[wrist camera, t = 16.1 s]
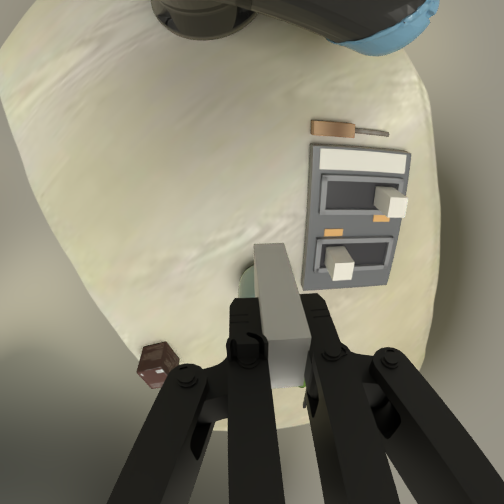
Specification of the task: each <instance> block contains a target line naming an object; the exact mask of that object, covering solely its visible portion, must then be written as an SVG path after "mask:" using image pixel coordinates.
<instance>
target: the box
mask: <svg viewBox="0 0 504 504" xmlns="http://www.w3.org/2000/svg"><path fill="white" fill-rule="evenodd" d="M178 365H179V358H178V356H177V355H176V354H175V353H174V351H173V350H172V349H171V347H170V346H169V344H168V343H167V342H163V343H159V344H155V345H150V346H146V347H143V350H142V354H141V357H140V361H139V365H138V368H137V374H138V375H139V376H140V377H141V378H142V379H143V380H144V381H145V382H146V383H147V384H148V385H149V387H151V389H154V388H160V387H162V385H163V383H164V381H165V379H166V377H167V375H168V374H169V372H170V371H171V370H172V369H173V368H175V367H176V366H178Z"/></svg>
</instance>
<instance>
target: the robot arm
mask: <svg viewBox="0 0 504 504" xmlns="http://www.w3.org/2000/svg"><path fill="white" fill-rule="evenodd" d="M151 4H152V8H153V11H154V14H155V15H156V17H157V19H158V20H159V21H160V22H161V23H162V24H163V25H164V26H165V27H166V28H167V29H168V30H170V31H171V32H173V33H174V34H176V35H179V36H181V37H184V38H188V39H193V40H213V39H219V38H223V37H226V36H229V35H231V34H234V33H236V32H238V31H239V30H241V29H243V28H244V27H245V26H247V25H248V24H249V23H250V22H251V21H252V20H253V19H254V18H255V16H256V15H257V13H261V14H264V15H268V16H271V17H274V18H277V19H280V20H283V21H285V22H288V23H291V24H294V25H296V26H299V27H301V28H304V29H306V30H309V31H311V32H314V33H316V34H319V35H321V36H323V37H325V38H326V40H328V41H329V42H331V43H333V44H338V45H341V46H345V47H347V48H350V49H352V50H354V51H356V52H358V53H361V54H363V55H369V56H383V55H387V54H390V53H393V52H396V51H398V50H400V49H401V48H403V47H405V46H406V45H408V44H409V43H411V42H412V41H413V40H414V39H415V38H417V37H418V36H419V35H420V34H421V33H422V32H423V31H424V30H425V29H426V27H427V26H428V25H429V23H430V20H429V18H430V17H431V16H433V15H435V14H436V12H437V9H438V7H439V0H151ZM254 290H255V297H252V298H235V299H234V300H233V302H232V303H231V305H230V321H229V322H230V324H229V338H228V339H227V343H226V350H227V357H226V359H225V360H224V361H223V362H221V363H220V364H218V365H216V366H213V367H210V368H206V369H202V368H201V367H200V366H197V365H195V364H182V365H178V366H176V367H175V368H173V369H172V370H171V371H170V372H169V374H168V375H167V377H166V379H165V381H164V383H163V385H162V387H161V390H160V391H159V393H158V396H157V398H156V400H155V402H154V404H153V406H152V408H151V410H150V412H149V414H148V416H147V418H146V421H145V422H144V425H143V427H142V429H141V431H140V433H139V435H138V437H137V439H136V441H135V443H134V446H133V448H132V450H131V452H130V454H129V456H128V459H127V461H126V463H125V465H124V467H123V469H122V471H121V474H120V476H119V478H118V480H117V482H116V484H115V486H114V489H113V491H112V493H111V495H110V498H109V500H108V502H107V504H188V503H189V500H190V497H191V494H192V491H193V488H194V485H195V482H196V479H197V476H198V473H199V470H200V467H201V464H202V461H203V458H204V455H205V452H206V449H207V445H208V443H209V440H210V437H211V433H212V431H213V427H214V424H215V421H218V420H222V419H225V418H228V472H229V473H228V475H229V504H285V498H284V490H283V482H282V473H281V464H280V456H279V447H278V439H277V430H276V422H275V413H274V405H273V397H272V389H274V388H287V387H298V386H303V383H304V379H305V384H306V393H305V397H304V402H303V408H306V405H307V410H308V415H309V420H310V425H311V431H312V436H313V441H314V447H315V451H316V457H317V463H318V468H319V474H320V479H321V485H322V491H323V497H324V503H325V504H400V502H399V498H398V494H397V490H396V486H395V483H394V480H393V476H392V473H391V470H390V466H389V463H388V459H387V456H386V454H387V455H388V457H389V459H390V460H391V462H392V463H393V465H394V467H395V468H396V470H397V471H398V473H399V475H400V476H401V477H402V479H403V481H404V482H405V484H406V486H407V487H408V489H409V490H410V492H411V494H412V495H413V497H414V498H415V500H416V501H417V503H418V504H504V482H503V480H502V479H501V477H500V476H499V474H498V473H497V472H496V470H495V469H494V467H493V466H492V464H491V463H490V462H489V460H488V459H487V458H486V456H485V455H484V453H483V452H482V451H481V450H480V448H479V447H478V445H477V444H476V443H475V442H474V440H473V439H472V437H471V436H470V435H469V434H468V432H467V431H466V430H465V428H464V427H463V426H462V424H461V423H460V422H459V421H458V419H457V418H456V417H455V416H454V414H453V413H452V412H451V411H450V409H449V408H448V407H447V405H446V404H445V403H444V402H443V400H442V399H441V398H440V397H439V396H438V394H437V393H436V392H435V390H434V389H433V388H432V387H431V386H430V384H429V383H428V382H427V381H426V380H425V378H424V377H423V376H422V375H421V374H420V372H419V371H418V370H417V369H416V368H415V366H414V365H413V364H412V363H411V362H410V360H409V359H408V358H407V357H406V356H405V355H404V354H403V353H402V352H401V351H400V350H397V349H395V348H390V347H385V348H381V349H379V350H378V351H376V352H375V354H374V356H369V355H361V354H356V353H353V352H351V351H350V350H349V349H348V347H347V346H346V345H344V344H343V343H341V342H340V339H339V337H338V334H337V331H336V329H335V326H334V323H333V321H332V318H331V317H330V313H329V310H328V307H327V305H326V302H325V300H324V299H323V298H322V297H321V296H320V295H319V294H318V293H312V294H299V292H298V288H297V285H296V282H295V278H294V275H293V271H292V268H291V265H290V262H289V258H288V255H287V252H286V248H285V245H284V243H269V244H254ZM385 452H386V453H385Z"/></svg>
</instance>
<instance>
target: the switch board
mask: <svg viewBox="0 0 504 504" xmlns="http://www.w3.org/2000/svg"><path fill="white" fill-rule="evenodd" d="M410 162H411V153H409V152H406V151H400V150H392V149H382V148H371V147H359V146H345V145H327V144H310V158H309V180H308V199H307V216H306V230H305V244H304V257H303V268H302V280H301V285H302V288H303V291H306V290H323V289H338V288H352V287H366V286H378V285H387V282H388V278H389V274H390V270H391V266H392V262H393V258H394V253H395V249H396V244H397V240H398V235H399V230H400V225H401V220H402V218H387V217H386V216H385V215H384V214H383V213H382V212H381V211H380V210H379V209H377V208H376V207H375V206H374V205H373V204H374V197H375V189H376V186H382V187H393V188H395V189H396V190H398V191H399V192H401V193H402V194H404V195H405V196H406V191H407V184H408V177H409V170H410ZM335 246H344V247H345V248H346V250H347V251H348V253H349V254H350V256H351V258H352V259H353V261H354V262H355V263H354V268H353V274H352V279H351V280H338V281H332V278H331V276H330V274H329V272H328V270H327V268H326V266H325V264H324V262H325V253H326V247H335Z"/></svg>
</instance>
